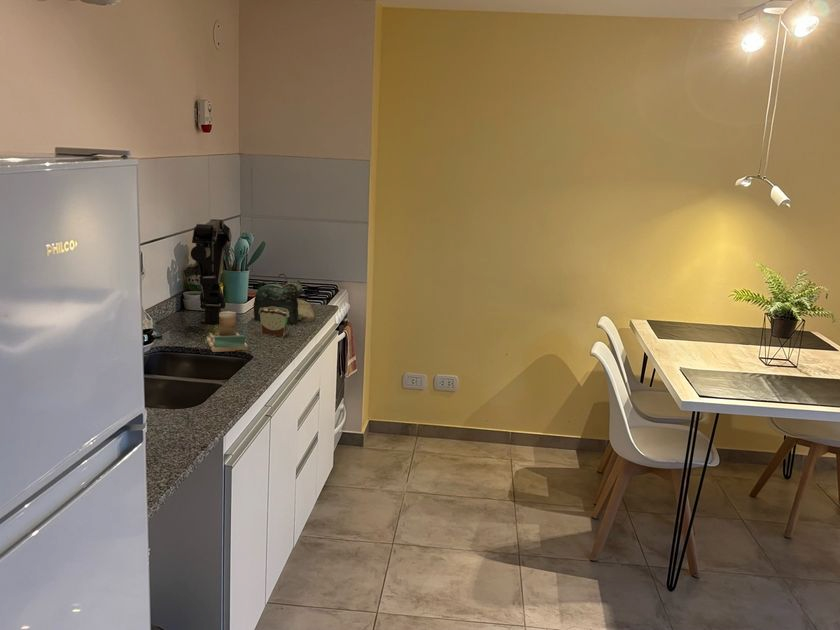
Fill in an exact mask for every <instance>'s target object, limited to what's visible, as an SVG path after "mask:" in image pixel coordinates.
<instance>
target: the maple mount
mask: <svg viewBox="0 0 840 630" xmlns="http://www.w3.org/2000/svg"><path fill="white" fill-rule="evenodd" d="M206 342H207V345H208V346H209V348H210V347H211V348H210V350H211V351H212V353H214V352H215V353H216V352H217V353H218V352H220V353H221V352H236V350H237V352H239V351H238V350H243V351H249V349H248V348H249V347H248V344H247V343H246V336H245V335H244V334H240V333H239V332H238V331H236V335H231V336H219V335H214V334H213V332H208V336H207V335H206Z"/></svg>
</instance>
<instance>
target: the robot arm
mask: <svg viewBox="0 0 840 630" xmlns="http://www.w3.org/2000/svg"><path fill="white" fill-rule="evenodd" d="M231 242H232V232H231V228H230V227H229V226H228V225H226V224H225V222H224V220H223V219H214V218H212V219H210V220H209V221H207V222H206V223H196V226H194V228H193V234H192V239H191V243H192V244H195V246H193V247H192V248H191V250H190V257H191V259H192V260H194V261H195V263H193V264H190V265H188V266H185V267H182V268H181V271H182V274H183V277H184V278H185V279H188V278H190V277H192V276H194V277H198V278H196V281H197V284H200V287H201V292H200V293H199V296H200V297H199V299H200V301H199V302H200V307H201V308H204V314H203V315H204V319H203V320H201V323H205V324H212V325H218V324H219V313H220V312H222V309H226V307H227V306H226V299H225V295H224V293H223V290H222V288H221V285H220V283H221V276H222V267H223V262H224V254H225V252H226V251H227V250H228V249H229V247H230V243H231Z"/></svg>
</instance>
